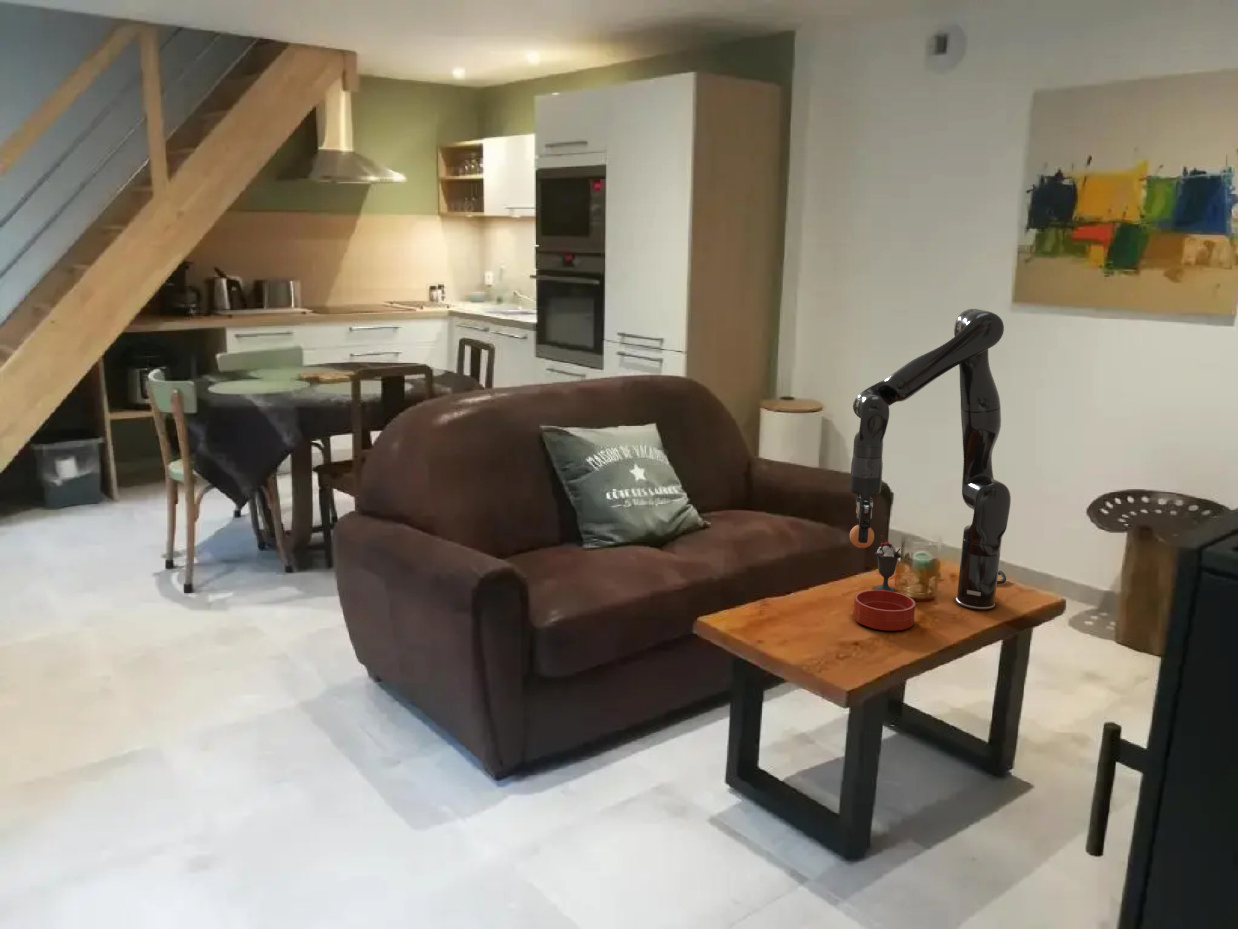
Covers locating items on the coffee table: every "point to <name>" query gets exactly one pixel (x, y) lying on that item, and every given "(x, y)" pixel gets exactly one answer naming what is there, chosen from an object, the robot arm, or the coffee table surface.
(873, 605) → the bowl
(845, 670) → the coffee table surface
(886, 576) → the sundae
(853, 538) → the peach
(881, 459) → the robot arm
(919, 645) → the coffee table surface
